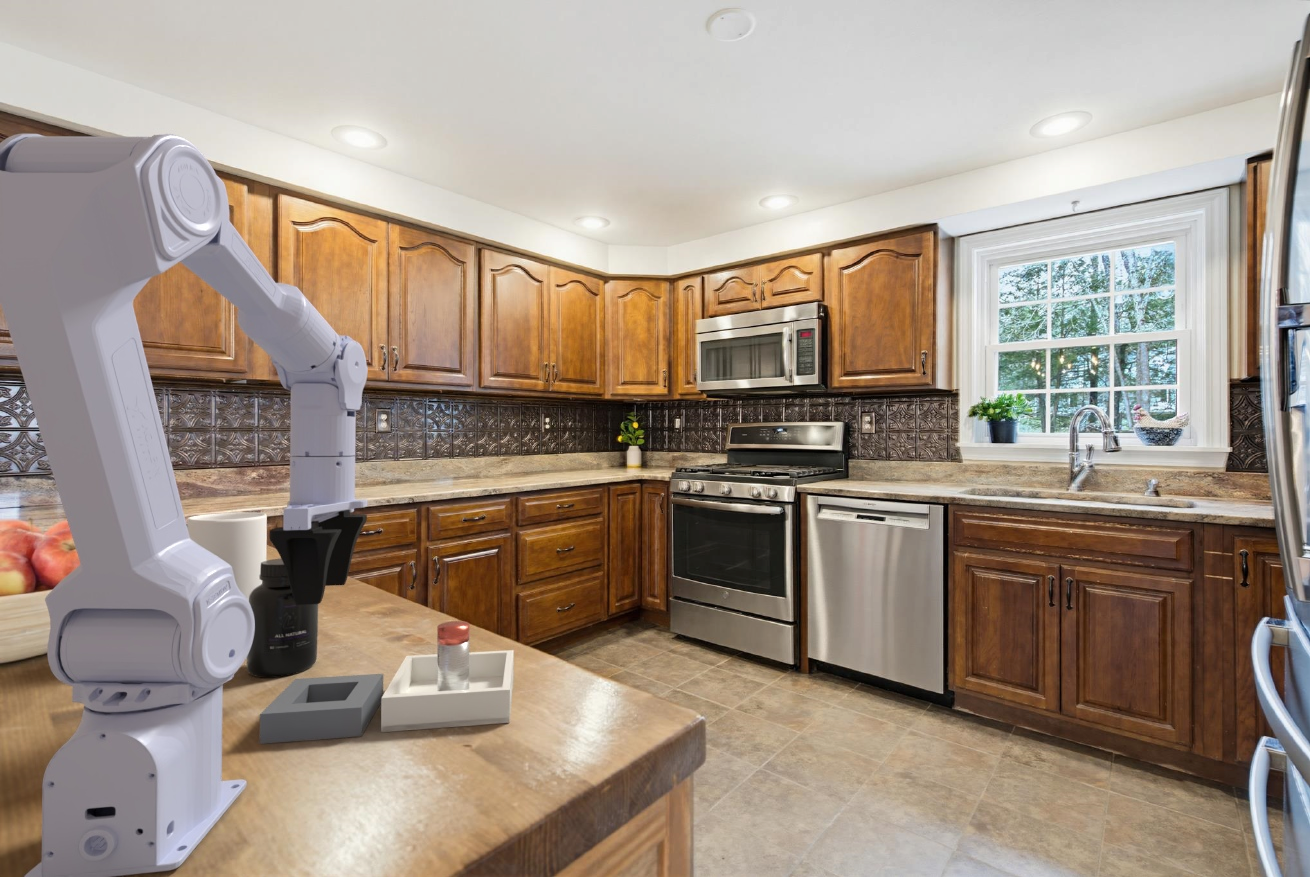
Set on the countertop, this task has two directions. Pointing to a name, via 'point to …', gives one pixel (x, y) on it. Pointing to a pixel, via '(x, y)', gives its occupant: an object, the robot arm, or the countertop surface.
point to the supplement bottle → (280, 626)
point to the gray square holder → (322, 708)
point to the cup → (234, 543)
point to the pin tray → (449, 694)
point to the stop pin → (453, 656)
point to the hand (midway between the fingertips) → (322, 593)
